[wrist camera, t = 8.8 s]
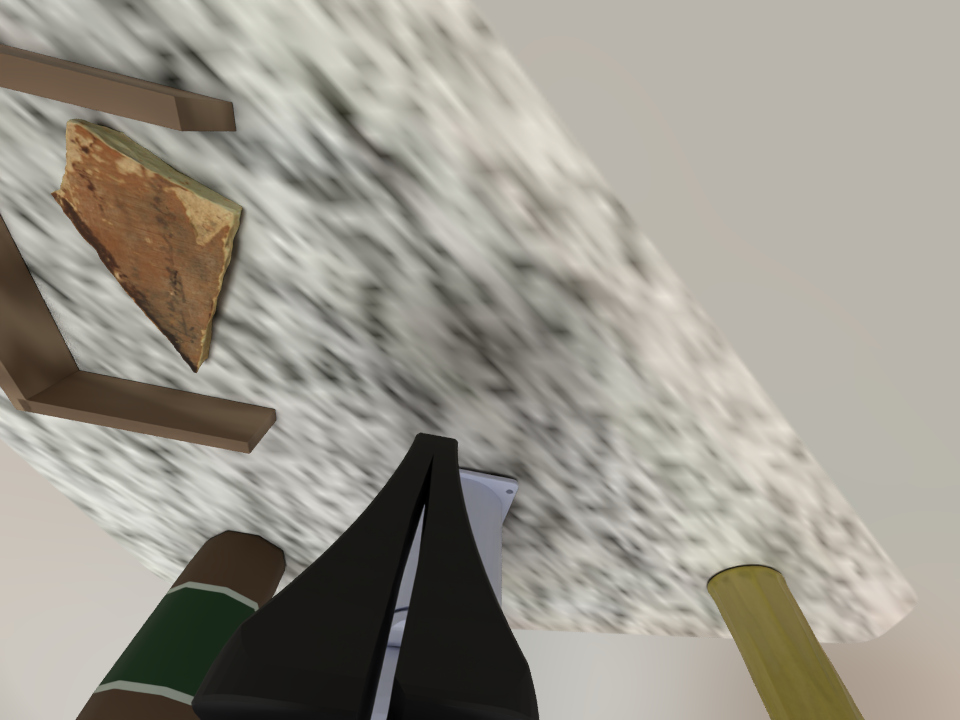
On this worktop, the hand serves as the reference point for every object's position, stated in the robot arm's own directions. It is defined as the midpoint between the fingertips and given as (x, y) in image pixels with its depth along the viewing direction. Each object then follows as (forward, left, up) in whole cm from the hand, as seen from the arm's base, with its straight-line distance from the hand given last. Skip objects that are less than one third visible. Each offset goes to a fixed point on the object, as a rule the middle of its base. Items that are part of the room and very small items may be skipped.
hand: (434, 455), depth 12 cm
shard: (+1, +14, -10) cm, 17 cm away
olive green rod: (-19, -29, -9) cm, 36 cm away
